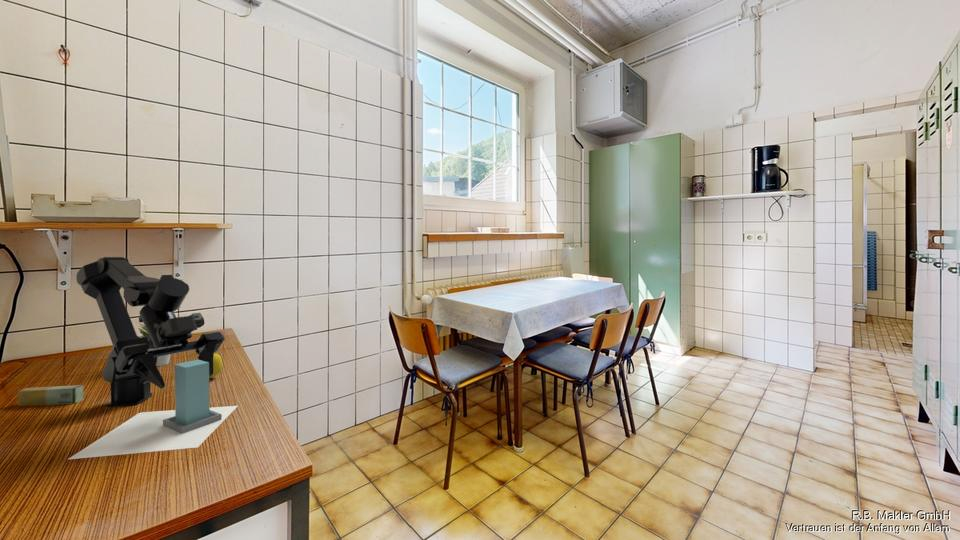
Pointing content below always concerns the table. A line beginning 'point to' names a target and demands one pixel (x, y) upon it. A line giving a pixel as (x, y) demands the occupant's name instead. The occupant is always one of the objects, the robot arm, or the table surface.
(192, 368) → the post
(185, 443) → the baseplate
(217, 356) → the lemon
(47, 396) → the medication box
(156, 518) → the table surface
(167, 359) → the house plant
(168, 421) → the socket
